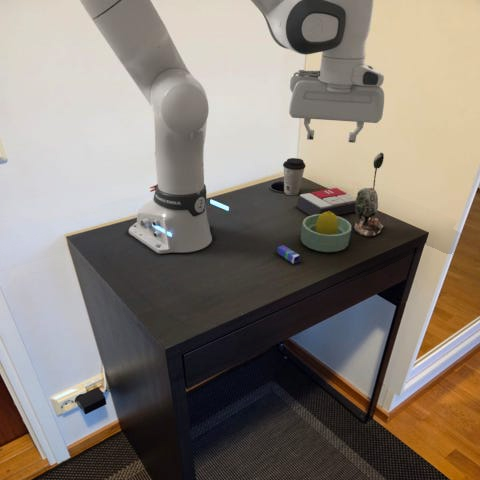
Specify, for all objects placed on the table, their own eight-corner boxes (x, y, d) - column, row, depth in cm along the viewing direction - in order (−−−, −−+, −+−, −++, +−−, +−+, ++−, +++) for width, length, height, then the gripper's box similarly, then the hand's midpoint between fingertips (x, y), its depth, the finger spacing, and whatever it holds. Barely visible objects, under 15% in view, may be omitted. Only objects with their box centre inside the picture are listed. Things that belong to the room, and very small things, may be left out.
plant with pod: (340, 229, 121) (353, 155, 109) (368, 219, 126) (384, 148, 114) (361, 241, 116) (378, 165, 104) (391, 231, 121) (410, 157, 109)
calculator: (361, 199, 129) (322, 206, 122) (358, 213, 131) (319, 221, 124) (336, 186, 136) (297, 192, 129) (333, 199, 138) (295, 206, 132)
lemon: (326, 247, 112) (331, 218, 107) (309, 239, 115) (313, 210, 110) (339, 240, 115) (345, 211, 110) (323, 233, 118) (327, 204, 113)
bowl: (292, 243, 114) (293, 225, 111) (315, 227, 122) (317, 210, 119) (334, 258, 109) (337, 240, 105) (355, 240, 116) (359, 223, 113)
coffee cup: (285, 197, 137) (288, 165, 131) (277, 189, 142) (279, 157, 136) (306, 195, 139) (310, 163, 133) (296, 187, 144) (300, 156, 138)
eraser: (293, 264, 106) (294, 257, 105) (277, 254, 110) (277, 246, 108) (299, 262, 107) (300, 254, 106) (283, 251, 111) (283, 244, 109)
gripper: (290, 71, 91) (284, 141, 100) (392, 77, 89) (376, 147, 98) (292, 66, 96) (286, 133, 105) (387, 72, 94) (373, 139, 103)
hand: (330, 140), depth 101 cm, fingers open, 8 cm apart
